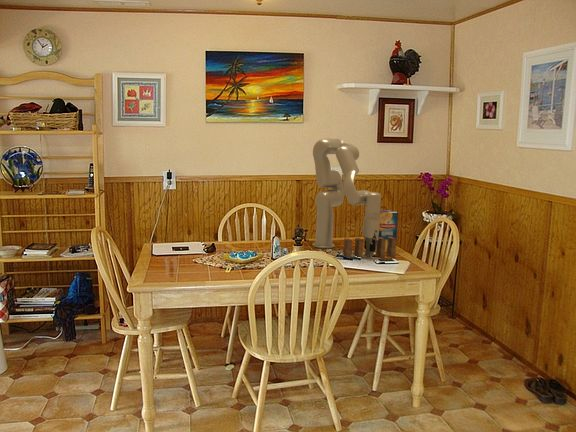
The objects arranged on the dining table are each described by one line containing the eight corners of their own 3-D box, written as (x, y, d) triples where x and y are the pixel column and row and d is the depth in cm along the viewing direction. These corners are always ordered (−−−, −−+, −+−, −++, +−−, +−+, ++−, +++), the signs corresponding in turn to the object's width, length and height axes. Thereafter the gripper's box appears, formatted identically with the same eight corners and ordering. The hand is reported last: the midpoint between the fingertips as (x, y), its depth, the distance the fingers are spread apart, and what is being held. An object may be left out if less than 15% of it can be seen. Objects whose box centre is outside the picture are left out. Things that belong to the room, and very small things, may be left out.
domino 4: (375, 255, 295) (377, 237, 293) (379, 255, 296) (380, 237, 294) (380, 258, 290) (381, 239, 289) (384, 257, 291) (385, 239, 289)
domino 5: (386, 255, 297) (388, 237, 296) (390, 255, 298) (391, 236, 296) (391, 257, 293) (392, 239, 291) (394, 257, 293) (396, 238, 292)
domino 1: (342, 257, 288) (344, 238, 287) (346, 257, 289) (347, 238, 287) (347, 259, 284) (348, 240, 282) (350, 259, 284) (352, 240, 283)
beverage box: (395, 251, 306) (398, 212, 303) (376, 251, 304) (379, 212, 300) (390, 248, 313) (393, 210, 309) (371, 249, 310) (374, 210, 307)
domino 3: (365, 254, 293) (366, 235, 291) (368, 254, 293) (370, 235, 292) (369, 256, 288) (371, 237, 286) (373, 256, 289) (374, 237, 287)
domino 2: (354, 256, 291) (355, 238, 289) (357, 256, 291) (359, 237, 290) (358, 259, 286) (359, 240, 284) (362, 258, 287) (363, 240, 285)
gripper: (358, 213, 294) (355, 246, 297) (373, 219, 278) (371, 254, 281) (370, 213, 296) (368, 246, 299) (386, 218, 280) (384, 253, 284)
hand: (369, 249), depth 290 cm, fingers closed on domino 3, 4 cm apart
